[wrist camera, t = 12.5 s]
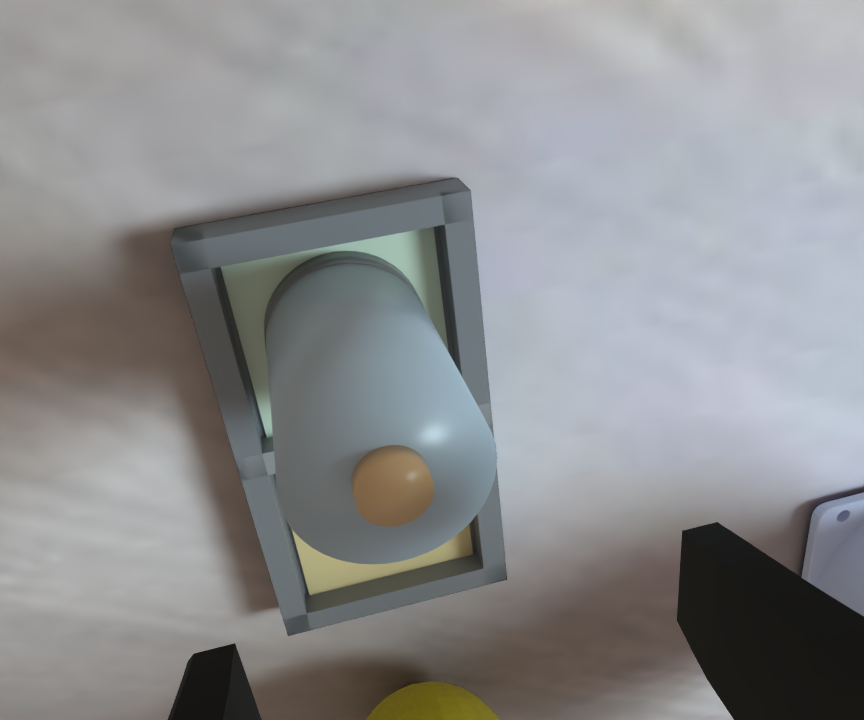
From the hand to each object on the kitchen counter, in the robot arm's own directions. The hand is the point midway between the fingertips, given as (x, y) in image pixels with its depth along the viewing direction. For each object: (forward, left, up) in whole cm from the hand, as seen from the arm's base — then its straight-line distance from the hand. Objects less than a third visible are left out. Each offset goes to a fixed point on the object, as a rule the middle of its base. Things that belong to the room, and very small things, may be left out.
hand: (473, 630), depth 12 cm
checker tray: (+1, +2, -10) cm, 10 cm away
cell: (+1, -1, -9) cm, 9 cm away
